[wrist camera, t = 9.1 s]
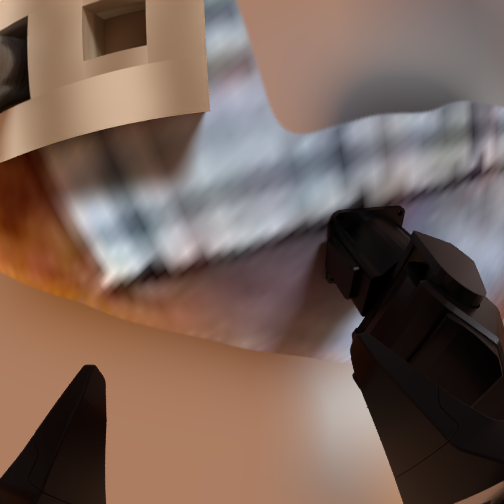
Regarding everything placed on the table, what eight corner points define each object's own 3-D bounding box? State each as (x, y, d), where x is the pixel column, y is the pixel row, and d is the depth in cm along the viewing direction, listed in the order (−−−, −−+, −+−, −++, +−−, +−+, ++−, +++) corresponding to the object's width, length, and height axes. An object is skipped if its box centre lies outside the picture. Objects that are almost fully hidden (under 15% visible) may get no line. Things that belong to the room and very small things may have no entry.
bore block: (200, -39, 10) (202, -72, 6) (207, 105, 15) (210, 111, 11) (-9, 31, 8) (-48, 30, 4) (2, 157, 13) (-35, 179, 10)
